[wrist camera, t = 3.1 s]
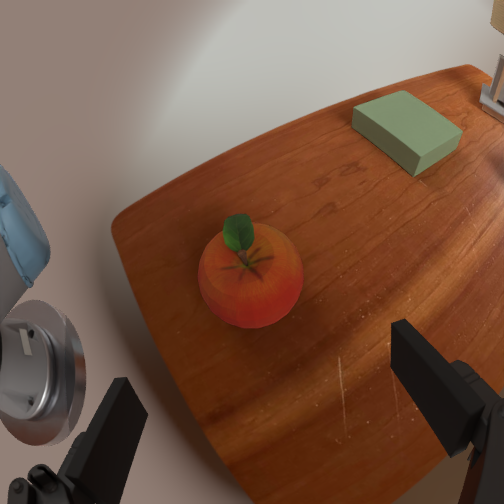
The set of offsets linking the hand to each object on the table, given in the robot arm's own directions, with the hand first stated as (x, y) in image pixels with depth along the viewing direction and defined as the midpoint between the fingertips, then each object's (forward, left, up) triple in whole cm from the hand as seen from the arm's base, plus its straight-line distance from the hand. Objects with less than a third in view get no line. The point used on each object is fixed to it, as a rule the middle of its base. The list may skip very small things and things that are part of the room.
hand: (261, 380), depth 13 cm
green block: (+28, +29, -14) cm, 43 cm away
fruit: (0, +10, -14) cm, 18 cm away
